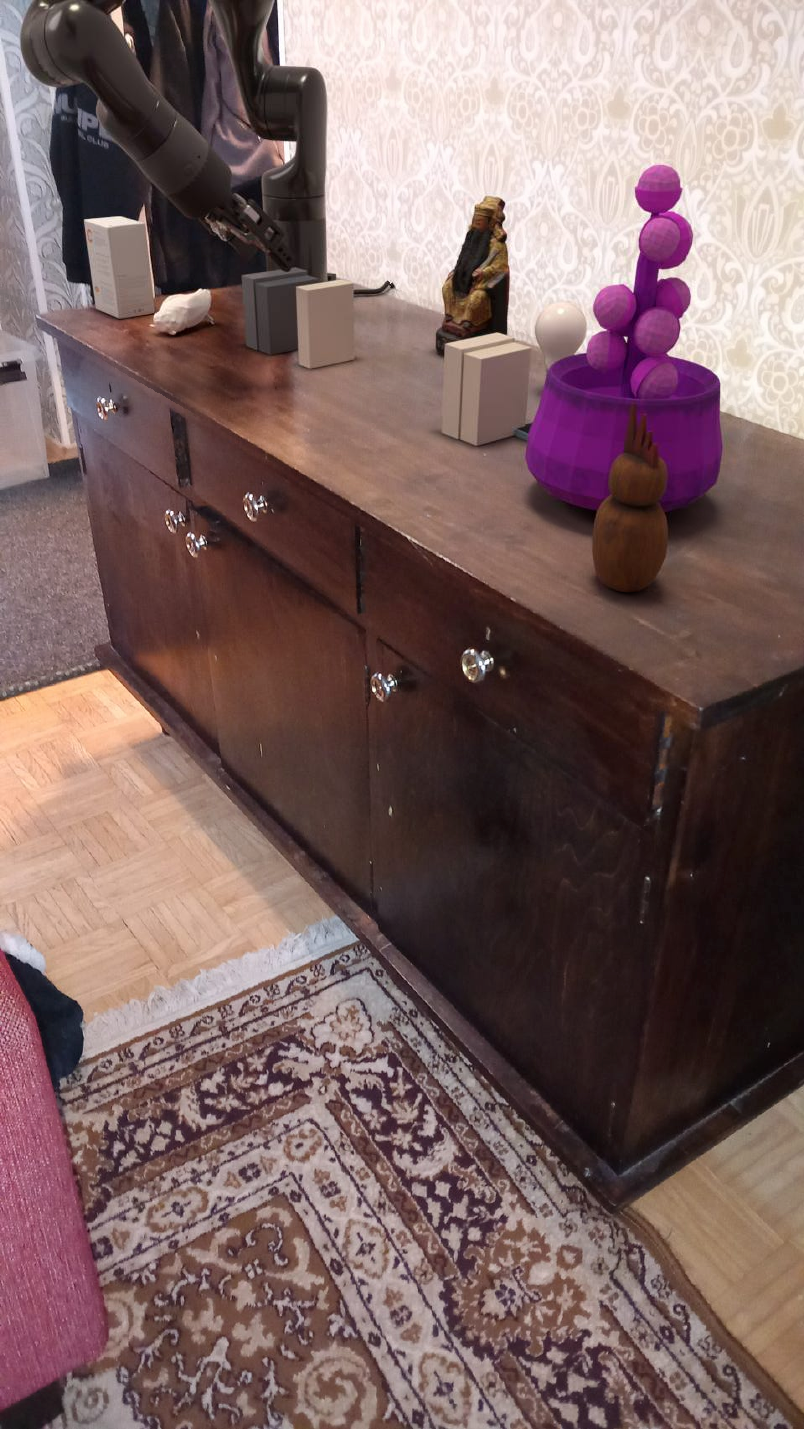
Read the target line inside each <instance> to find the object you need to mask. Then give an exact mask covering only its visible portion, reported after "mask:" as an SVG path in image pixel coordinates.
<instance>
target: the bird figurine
mask: <svg viewBox="0 0 804 1429" xmlns="http://www.w3.org/2000/svg"><path fill="white" fill-rule="evenodd" d="M211 303H212V294H211V291H210V290H209V288H207V289H206V288H204V289H203V288H199V289H197V291H195V292H192V293H188V294H183V293H177V294H173V295H169V296H168V297H166V298H165V299H164V300H163V302H162V304H161V306H160V307H159V311H157V312H155V313H154V315H153V323H154V324H149V327H151V328H153V329H154V330H157V331H159V332H161V333H167V334H169V335H172V336H175V335H176V334H177V333H179V332H181V331H184V330H185V329H189V328H191V327H195V326H197V325H198V324H200V323H201V322H202V321H203V322H205V321H206V322H207V324H209V323H211V324H212V325H214V324H215V322H213V321H214V318H213V317H212V316H211V315H210V314H209V313H208V312H209V311H210V309H211V306H212V305H211Z"/></svg>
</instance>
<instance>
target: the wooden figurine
mask: <svg viewBox="0 0 804 1429" xmlns="http://www.w3.org/2000/svg"><path fill="white" fill-rule="evenodd" d="M667 477H668V476H667V468H666V465H665V463H664V461H663V459H661V458H660V457H658V444H657V443H655V444H653V432H652V431H648V432H647V434H646V414H642V417H641V421H640V424H639V427H638V430H637V417H636V404H635V403H634V402H633V403H631V408H630V413H629V419H628V425H627V431H626V436H625V443H624V449H623V454H621V455H619V456H618V457H617V458H616V460H615V461H614V463H613V465H612V467H611V470H610V474H609V482H608V486H609V490H610V494H611V495H610V496H608V497H607V498H606V499H605V500H604V501H603V502H602V503H601V505H600V507H599V509H598V511H596V514H595V518H594V523H593V528H592V529H593V530H592V540H591V543H592V546H591V553H592V561H593V566H594V570H595V575H596V577H597V578H598V580H599V581H600V582H601V583H602V584H603V585H604V586H606V587H607V588H609V589H611V590H614V591H617V592H622V593H635V592H639V591H642V590H644V589H646V588H647V587H649V586H650V585H651V584H652V583H653V582H654V580H655V579H656V577H657V576H658V574H659V572H660V570H661V569H662V567H663V565H664V562H665V559H666V557H667V552H668V546H669V543H668V542H669V528H668V520H667V515H666V512H664V511H663V509H662V507H661V505H660V504H659V503H658V501H659V500H660V499H661V498H662V496H663V494H664V492H665V490H666V485H667Z"/></svg>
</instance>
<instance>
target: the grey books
mask: <svg viewBox="0 0 804 1429" xmlns="http://www.w3.org/2000/svg"><path fill="white" fill-rule="evenodd" d="M316 283H319V279H318V278H315V277H312V276H308V275H307V271H306V270H302V269H299V268H296V267H295V268H291V270H290V271H289V272H285V271H282V270H274V271H268V272H266V271H262V272H255V273H254V272H253V273H248V274H242V275H241V287H242V289H241V290H242V302H243V303H242V304H243V317H244V318H243V319H244V333H245V334H244V336H245V346H246V347H248V348H250V349H253V350H254V351H259V352H262V353H265V354H267V355H269V356H273V355H277V354H283V353H289V352H293V351H299V350H298V325H297V299H296V287H298V286H304V285H310V284H316Z"/></svg>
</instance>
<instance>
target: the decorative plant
mask: <svg viewBox="0 0 804 1429" xmlns="http://www.w3.org/2000/svg"><path fill="white" fill-rule="evenodd" d="M683 189H684V188H683V187H681V178H680V176H679V173H678V172H677V171H676V170H675V168H673V167H672V166H669V165H667V164H653V165H651V166H650V167H648V168H647V169H645V170H644V171H643V172H642V174H641V175H640V176H639V179H638V182H637V186H634V198H635V200H636V203H637V205H638V206H639V207H640V208H641V209H642V210H643V211H644V212H647V213H648V214H649V213H650V216H649V218H648V219H647V220H646V221H645V223H644V224H643V226H642V227H641V230H640V232H639V236H638V241H637V242H638V249H639V254H638V257H637V260H636V261H637V262H636V268H635V276H634V284H633V291H632V289H631V288H630V287H628V285H626V284H624V283H621V284H620V283H619V284H612V285H607V286H604V287H603V288H602V289H601V288H600V291H598V293H597V294H596V296H595V298H594V301H593V303H592V312H593V315H594V318H595V319H596V321H597V322H598V326H599V327H600V328H602V329H603V330H601V331H598V332H597V333H595V334H593V335H592V336H591V337H590V339H589V340H588V341H587V345H586V351H585V352H583V353H577V354H576V353H575V354H574V355H572V356H568V357H565V358H562V359H560V360H558V361H556V362H555V363H553V364H552V365H551V367H550V368H549V370H548V372H547V373H546V374H547V376H546V375H545V380H544V384H543V388H542V391H541V396H540V401H539V404H538V407H537V410H536V413H535V415H534V418H533V420H532V422H533V423H532V426H531V428H530V431H529V434H528V441H526V449H525V456H524V459H525V462H526V465H527V469H528V471H529V472H530V474H531V476H533V478H534V479H535V481H536V482H537V483H538V485H539V486H540V487H541V488H542V489H544V490H545V491H546V492H547V493H548V494H550V495H551V496H552V497H553V498H556V499H559V500H561V501H563V502H566V503H569V504H571V505H573V506H576V507H579V508H584V509H587V510H592V511H596V512H597V511H598V509H599V507H600V505H601V503H602V502H603V501H604V500H605V499H606V498H607V497H608V496H610V495H611V494H610V490H609V486H608V482H609V474H610V470H611V467H612V465H613V463H614V461H615V460H616V458H617V457H618V456H619V455H621V454H623V449H624V443H625V436H626V431H627V425H628V419H629V413H630V408H631V403H633V402H634V403H635V404H636V417H637V430H638V427H639V424H640V421H641V417H642V414H646V434H647V432H648V431H652V432H653V444H655V443H657V444H658V457H660V458H661V459H663V461H664V463H665V465H666V468H667V476H668V477H667V485H666V490H665V492H664V494H663V496H662V498H661V499H660V500H659V501H658V503H659V504H660V505H661V507H662V509H663V511H664V513H666V512H671V511H675V510H678V509H683V508H686V507H687V506H689V505H690V504H692V503H694V502H695V501H697V500H698V499H700V498H701V497H702V496H704V495H705V493H707V492H708V491H709V490H711V489H712V488H713V487H714V486H715V485H717V481H718V479H719V475H720V472H721V465H722V464H721V463H722V457H723V446H724V445H723V438H722V437H723V436H722V426H721V384H722V383H721V380H720V378H719V377H718V375H717V374H716V373H715V372H713V371H712V370H711V369H709V368H707V367H705V366H704V365H701V364H699V363H697V362H693V361H690V360H687V359H684V358H680V357H676V356H670V355H669V354H668V353H669V352H670V351H671V350H672V349H673V348H674V347H675V346H676V344H677V342H678V340H679V338H680V334H681V322H680V320H681V318H683V317H684V314H685V313H686V312H687V311H688V309H689V307H690V305H691V300H692V295H691V289H690V287H689V285H688V284H687V282H685V281H684V280H683V279H681V278H680V277H675V276H674V277H673V276H672V277H671V276H669V277H667V278H660V279H659V273H660V270H662V271H663V270H670V269H674V268H677V267H679V266H681V265H682V264H683V263H685V261H686V259H687V257H688V255H689V253H690V251H691V249H692V246H693V241H694V231H693V228H692V225H691V224H690V222H689V221H688V220H687V219H686V217H684V216H682V215H681V214H680V213H677V212H675V211H672V209H673V208H674V207H675V206H676V205H677V203H678V202H679V201H680V199H681V196H682V193H683Z"/></svg>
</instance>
